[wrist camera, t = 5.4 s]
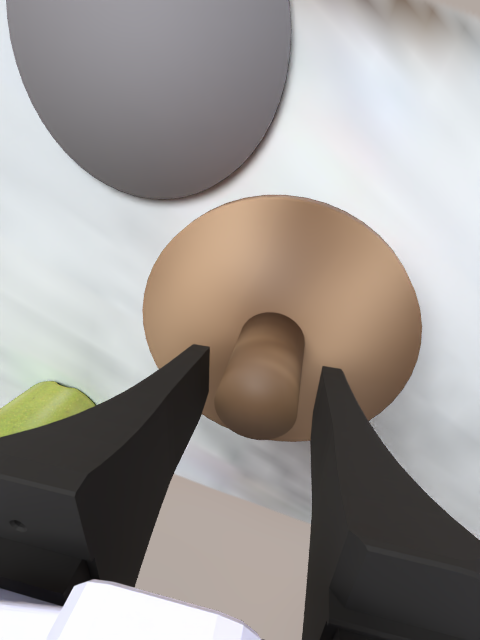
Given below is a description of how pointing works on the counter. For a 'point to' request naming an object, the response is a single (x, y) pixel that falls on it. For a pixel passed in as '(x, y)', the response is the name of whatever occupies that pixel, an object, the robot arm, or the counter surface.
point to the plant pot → (41, 407)
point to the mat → (154, 84)
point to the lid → (283, 311)
